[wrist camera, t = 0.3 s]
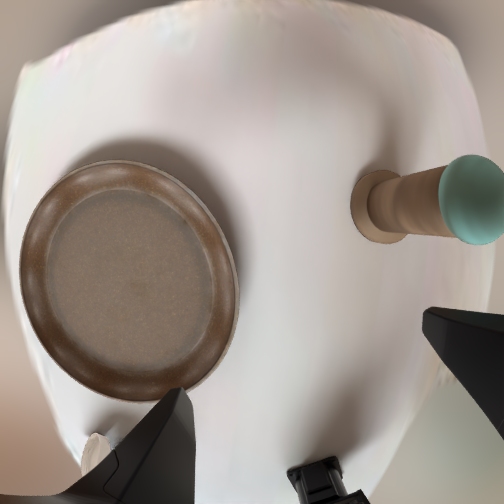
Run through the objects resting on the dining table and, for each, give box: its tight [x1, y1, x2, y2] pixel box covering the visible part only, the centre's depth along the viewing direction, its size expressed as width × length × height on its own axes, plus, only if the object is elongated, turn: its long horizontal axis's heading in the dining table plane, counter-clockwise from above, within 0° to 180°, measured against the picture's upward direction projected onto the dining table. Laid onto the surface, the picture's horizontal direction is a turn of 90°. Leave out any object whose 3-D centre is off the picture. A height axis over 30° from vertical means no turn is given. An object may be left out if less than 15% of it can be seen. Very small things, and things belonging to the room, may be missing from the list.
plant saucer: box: [19, 160, 239, 404], centre depth 20 cm, size 21×21×3 cm
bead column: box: [350, 155, 504, 245], centre depth 15 cm, size 6×6×14 cm
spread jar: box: [81, 433, 110, 476], centre depth 18 cm, size 12×11×12 cm
